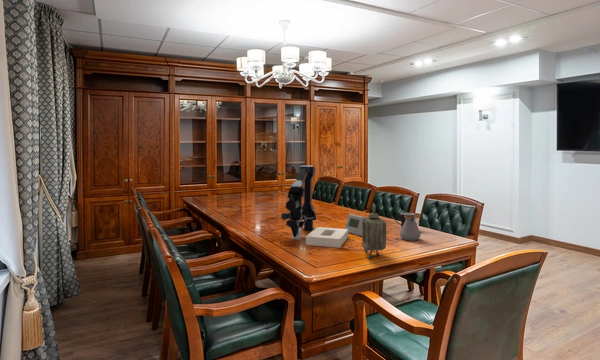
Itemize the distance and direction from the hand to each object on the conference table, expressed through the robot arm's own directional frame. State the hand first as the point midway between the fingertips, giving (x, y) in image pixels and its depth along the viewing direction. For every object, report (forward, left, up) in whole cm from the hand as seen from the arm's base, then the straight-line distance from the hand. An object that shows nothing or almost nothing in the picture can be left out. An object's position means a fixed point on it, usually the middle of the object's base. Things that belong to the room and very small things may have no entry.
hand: (296, 235), depth 210 cm
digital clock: (-22, +30, -2) cm, 37 cm away
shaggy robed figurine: (+21, +45, -2) cm, 50 cm away
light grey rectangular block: (0, 0, -2) cm, 2 cm away
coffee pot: (-13, +61, -2) cm, 62 cm away
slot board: (0, +18, -2) cm, 18 cm away
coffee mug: (-43, +57, -2) cm, 71 cm away
